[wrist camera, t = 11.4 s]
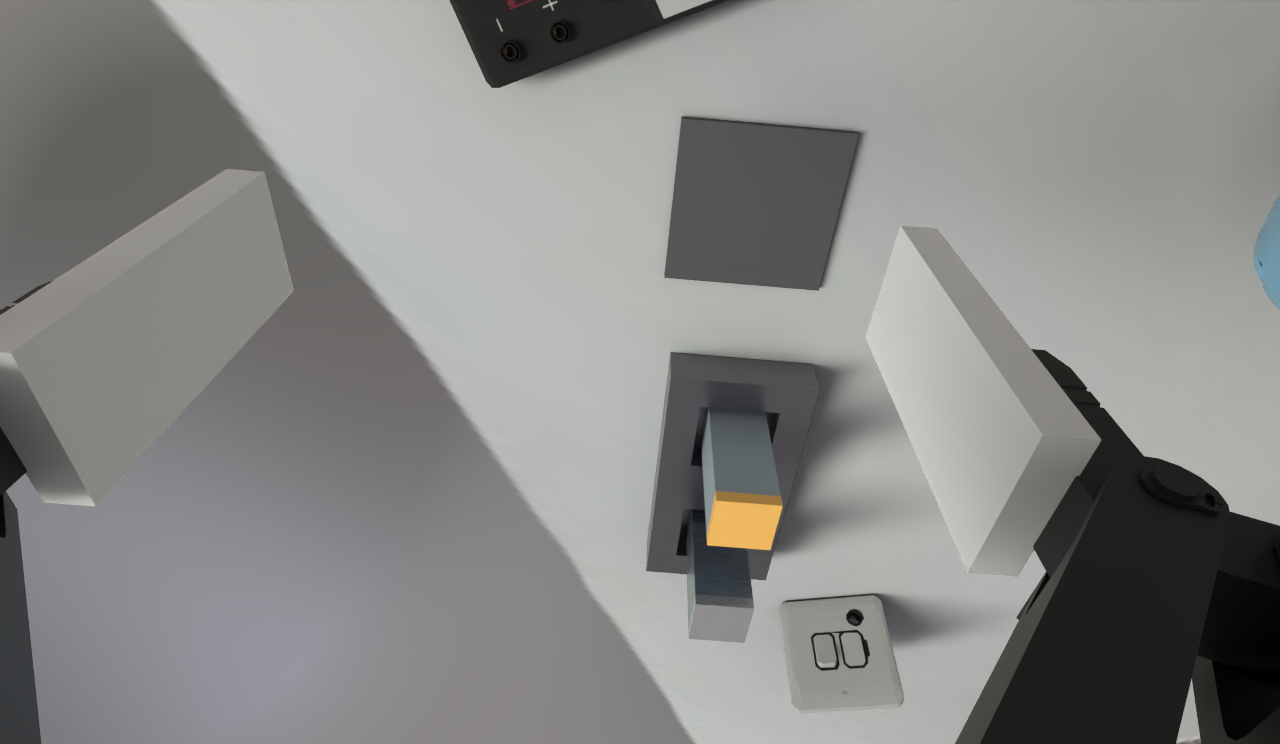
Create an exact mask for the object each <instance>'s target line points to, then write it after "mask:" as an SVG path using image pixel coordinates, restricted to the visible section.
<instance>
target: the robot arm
mask: <svg viewBox="0 0 1280 744" xmlns="http://www.w3.org/2000/svg"><path fill="white" fill-rule="evenodd" d="M1254 264H1255V267H1256V270H1257V273H1258V275H1259V278H1260V279H1261V281H1262V282H1263V287H1264V290H1265V292H1266V294H1267V295H1268V297H1269V298H1270V299H1271V301H1272V302H1273V303H1274V304H1275V306H1276V307H1277V308H1278V309H1279V310H1280V194H1279V196H1278V198H1277V200H1276V202H1275V204H1274V205H1273V207H1272V209H1271V211H1270V213H1269V215H1268V217H1267V219H1266V221H1265V223H1264V225H1263V227H1262V229H1261V231H1260V233H1259V235H1258V238H1257V240H1256V244H1255V249H1254ZM293 291H294V290H293V286H292V282H291V277H290V274H289V270H288V266H287V261H286V257H285V254H284V250H283V245H282V241H281V237H280V233H279V229H278V225H277V221H276V217H275V213H274V209H273V205H272V201H271V197H270V193H269V189H268V185H267V181H266V177H265V173H264V172H256V171H244V170H232V169H226V170H224V171H223V172H221V173H220V174H218V175H217V176H215V177H214V178H212V179H210V180H209V181H207V182H206V183H204V184H203V185H201V186H200V187H198V188H197V189H195V190H194V191H192V192H190V193H189V194H187V195H186V196H184V197H183V198H181V199H179V200H178V201H176V202H175V203H173V204H172V205H170V206H169V207H167V208H166V209H164V210H162V211H161V212H159V213H158V214H156V215H155V216H153V217H152V218H150V219H148V220H147V221H145V222H144V223H142V224H141V225H139V226H138V227H136V228H135V229H133V230H132V231H130V232H128V233H127V234H125V235H124V236H122V237H121V238H119V239H117V240H116V241H114V242H113V243H111V244H110V245H108V246H107V247H105V248H104V249H102V250H100V251H99V252H97V253H96V254H94V255H93V256H91V257H90V258H88V259H86V260H85V261H83V262H82V263H80V264H79V265H77V266H76V267H74V268H73V269H71V270H70V271H68V272H66V273H65V274H63V275H62V276H60V277H59V278H57V279H55V280H53V281H51V282H48V283H45V284H43V285H40V286H38V287H36V288H35V289H33V290H31V291H30V292H28V293H27V294H25V295H24V296H22V297H20V298H19V299H17V300H16V301H14V302H13V303H12V307H8V306H6V307H5V308H3V309H2V310H0V744H41V737H40V728H39V718H38V708H37V699H36V689H35V679H34V670H33V659H32V650H31V640H30V630H29V621H28V612H27V601H26V593H25V592H26V591H25V582H24V572H23V562H22V553H21V544H20V533H19V524H18V514H17V508H16V507H15V505H14V503H13V502H12V500H11V499H10V497H9V496H8V494H7V492H6V490H7V489H8V488H9V487H10V486H12V485H13V484H14V483H15V482H16V481H17V480H18V479H19V478H20V477H21V476H22V475H24V474H25V473H26V474H27V476H28V478H29V479H30V481H31V482H32V484H33V486H34V487H35V489H36V490H37V492H38V494H39V495H40V497H41V498H42V500H43V502H47V503H60V504H74V505H87V506H96V505H97V504H98V503H99V502H100V501H101V500H102V499H103V498H104V496H105V495H106V494H107V493H108V492H109V491H110V490H111V489H112V488H113V487H114V486H115V484H117V482H118V481H119V480H120V479H121V478H122V477H123V476H124V475H125V474H126V473H127V471H128V470H129V469H130V468H131V467H132V466H133V465H134V464H135V463H136V462H137V461H138V460H139V458H140V457H141V456H142V455H143V454H144V453H145V452H146V451H147V450H148V449H149V448H150V447H151V445H152V444H153V443H154V442H155V441H156V440H157V439H158V438H159V437H160V436H161V434H163V432H164V431H165V430H166V429H167V428H168V427H169V426H170V425H171V424H172V423H173V422H174V421H175V419H176V418H177V417H178V416H179V415H180V414H181V413H182V412H183V411H184V409H186V407H187V406H188V405H189V404H190V403H191V402H192V401H193V400H194V399H195V398H196V397H197V396H198V394H199V393H200V392H201V391H202V390H203V389H204V388H205V387H206V386H207V385H208V383H210V381H211V380H212V379H213V378H214V377H215V376H216V375H217V374H218V373H219V372H220V371H221V369H222V368H223V367H224V366H225V365H226V364H227V363H228V362H229V361H230V360H231V359H232V358H233V356H234V355H235V354H236V353H237V352H238V351H239V350H240V349H241V348H242V347H243V345H244V344H245V343H246V342H247V341H248V340H249V339H250V338H251V337H252V336H253V335H254V333H256V331H257V330H258V329H259V328H260V327H261V326H262V325H263V324H264V323H265V322H266V321H267V320H268V318H269V317H270V316H271V315H272V314H273V313H274V312H275V311H276V310H277V309H278V308H279V306H280V305H281V304H282V303H283V302H284V301H285V300H286V299H287V298H288V297H289V296H290V294H291V293H292V292H293ZM865 338H866V340H867V342H868V345H869V347H870V349H871V352H872V354H873V356H874V359H875V361H876V363H877V365H878V368H879V370H880V372H881V375H882V377H883V379H884V382H885V384H886V386H887V388H888V391H889V393H890V395H891V398H892V400H893V402H894V405H895V407H896V409H897V411H898V414H899V416H900V418H901V421H902V423H903V425H904V428H905V430H906V432H907V434H908V437H909V439H910V441H911V444H912V446H913V448H914V451H915V453H916V455H917V458H918V460H919V462H920V464H921V467H922V469H923V471H924V474H925V476H926V478H927V481H928V483H929V485H930V487H931V490H932V492H933V494H934V497H935V499H936V501H937V504H938V506H939V508H940V510H941V513H942V515H943V517H944V520H945V522H946V524H947V527H948V529H949V531H950V533H951V536H952V538H953V540H954V543H955V545H956V547H957V550H958V552H959V554H960V557H961V559H962V561H963V563H964V566H965V568H966V570H967V573H977V574H990V575H1003V576H1016V577H1017V576H1018V575H1019V573H1020V572H1021V570H1022V568H1023V567H1024V565H1025V563H1026V562H1027V560H1028V559H1029V557H1030V555H1031V554H1032V552H1033V550H1035V551H1036V553H1037V555H1038V557H1039V559H1040V560H1041V562H1042V564H1043V566H1044V568H1045V570H1046V573H1045V574H1044V576H1043V578H1042V579H1041V581H1040V582H1039V584H1038V585H1037V587H1036V588H1035V590H1034V591H1033V593H1032V594H1031V596H1030V598H1029V599H1028V601H1027V602H1026V604H1025V605H1024V607H1023V608H1022V610H1021V611H1020V613H1019V614H1018V616H1017V619H1019V622H1018V623H1017V625H1016V627H1015V629H1014V631H1013V633H1012V635H1011V637H1010V639H1009V641H1008V643H1007V645H1006V647H1005V649H1004V650H1003V652H1002V654H1001V656H1000V658H999V660H998V662H997V664H996V666H995V668H994V670H993V672H992V674H991V676H990V677H989V679H988V681H987V683H986V685H985V687H984V689H983V691H982V693H981V695H980V697H979V699H978V701H977V703H976V704H975V706H974V708H973V710H972V712H971V714H970V716H969V718H968V720H967V722H966V724H965V726H964V728H963V730H962V731H961V733H960V735H959V737H958V739H957V741H956V743H955V744H1176V740H1177V736H1178V732H1179V728H1180V724H1181V720H1182V715H1183V711H1184V707H1185V703H1186V699H1187V695H1188V691H1189V686H1190V682H1191V678H1192V682H1193V689H1194V696H1195V703H1196V710H1197V717H1198V724H1199V731H1200V738H1201V744H1280V526H1278V525H1275V524H1271V523H1268V522H1264V521H1261V520H1257V519H1254V518H1250V517H1247V516H1243V515H1240V514H1236V513H1232V512H1229V507H1228V504H1227V503H1226V501H1225V500H1224V499H1223V497H1222V496H1221V495H1220V494H1219V492H1218V491H1217V490H1216V489H1215V488H1213V487H1212V486H1211V485H1209V484H1208V483H1207V482H1206V481H1204V480H1203V479H1202V478H1201V477H1199V476H1197V475H1195V474H1193V473H1192V472H1190V471H1188V470H1186V469H1184V468H1182V467H1181V466H1178V465H1175V464H1172V463H1170V462H1167V461H1164V460H1161V459H1158V458H1151V457H1144V456H1143V455H1142V453H1141V452H1140V451H1139V450H1138V449H1137V447H1136V446H1135V445H1134V444H1133V443H1132V441H1131V440H1130V439H1129V438H1128V437H1127V435H1126V434H1125V433H1124V432H1123V431H1122V429H1121V428H1120V427H1119V426H1118V425H1117V423H1116V422H1115V421H1114V420H1113V418H1112V417H1111V416H1110V415H1109V414H1108V412H1107V411H1106V410H1105V409H1104V408H1100V403H1099V402H1098V400H1097V399H1096V398H1095V397H1094V396H1093V394H1092V393H1091V392H1088V391H1087V387H1086V386H1085V385H1084V384H1083V382H1082V381H1081V380H1080V379H1079V378H1078V376H1077V375H1076V374H1075V373H1074V372H1073V370H1072V369H1071V368H1070V367H1068V366H1067V365H1065V364H1064V363H1062V362H1061V361H1060V360H1058V359H1057V358H1055V357H1054V356H1052V355H1051V354H1050V353H1048V352H1047V351H1045V350H1035V349H1030V347H1029V346H1028V345H1027V344H1026V342H1025V341H1024V340H1023V338H1022V337H1021V336H1020V335H1019V333H1018V332H1017V331H1016V329H1015V328H1014V327H1013V326H1012V324H1011V323H1010V322H1009V320H1008V319H1007V318H1006V317H1005V315H1004V314H1003V313H1002V311H1001V310H1000V309H999V308H998V306H997V305H996V304H995V302H994V301H993V300H992V299H991V297H990V296H989V295H988V294H987V292H986V291H985V290H984V288H983V287H982V286H981V285H980V283H979V282H978V281H977V279H976V278H975V277H974V276H973V274H972V273H971V272H970V270H969V269H968V268H967V267H966V265H965V264H964V263H963V261H962V260H961V259H960V258H959V256H958V255H957V254H956V252H955V251H954V250H953V249H952V247H951V246H950V245H949V243H948V242H947V241H946V240H945V238H944V237H943V236H942V234H941V233H940V232H939V231H938V229H932V228H920V227H908V226H900V229H899V233H898V236H897V239H896V242H895V245H894V248H893V252H892V255H891V258H890V261H889V264H888V267H887V271H886V274H885V277H884V280H883V283H882V286H881V290H880V293H879V296H878V299H877V302H876V305H875V309H874V312H873V315H872V318H871V321H870V325H869V328H868V331H867V334H866V337H865Z"/></svg>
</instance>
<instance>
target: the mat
mask: <svg viewBox="0 0 1280 744" xmlns="http://www.w3.org/2000/svg"><path fill="white" fill-rule="evenodd" d="M858 135H859V134H858V132H852V131H840V130H829V129H818V128H806V127H795V126H783V125H772V124H761V123H749V122H738V121H726V120H715V119H704V118H692V117H682V119H681V128H680V137H679V147H678V156H677V165H676V174H675V184H674V193H673V202H672V212H671V221H670V230H669V239H668V249H667V258H666V267H665V278H675V279H687V280H699V281H711V282H723V283H735V284H747V285H759V286H771V287H782V288H794V289H806V290H818V291H819V287H820V283H821V279H822V275H823V271H824V268H825V264H826V260H827V256H828V252H829V248H830V244H831V240H832V236H833V233H834V229H835V225H836V221H837V217H838V213H839V209H840V205H841V202H842V198H843V194H844V190H845V186H846V182H847V178H848V174H849V170H850V167H851V163H852V159H853V155H854V151H855V147H856V143H857V139H858Z"/></svg>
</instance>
